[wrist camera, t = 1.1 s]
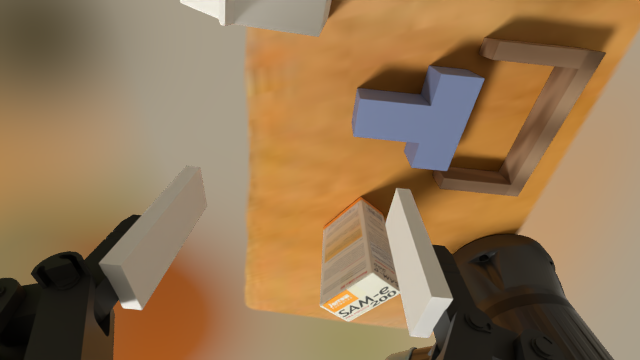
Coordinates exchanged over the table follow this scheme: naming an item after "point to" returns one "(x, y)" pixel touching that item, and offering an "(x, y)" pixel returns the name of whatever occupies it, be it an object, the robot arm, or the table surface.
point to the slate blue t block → (421, 115)
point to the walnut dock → (542, 120)
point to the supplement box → (356, 262)
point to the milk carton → (268, 13)
